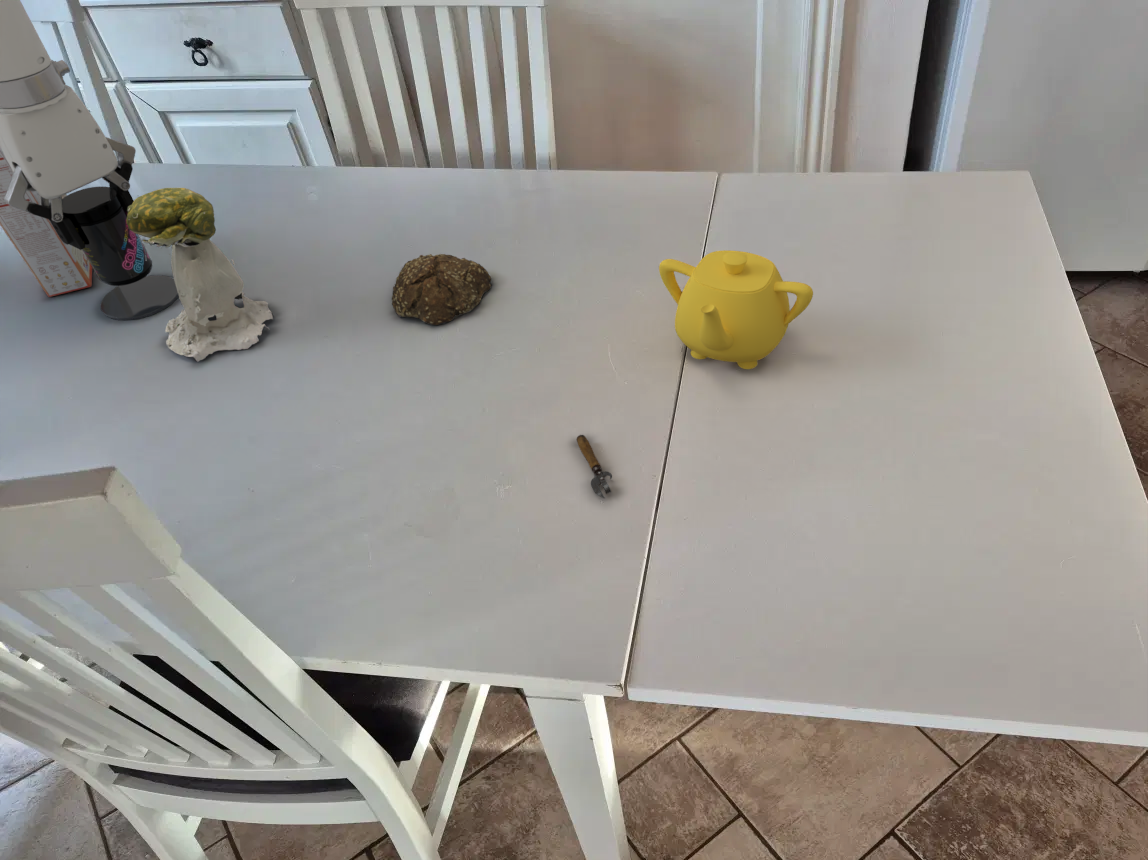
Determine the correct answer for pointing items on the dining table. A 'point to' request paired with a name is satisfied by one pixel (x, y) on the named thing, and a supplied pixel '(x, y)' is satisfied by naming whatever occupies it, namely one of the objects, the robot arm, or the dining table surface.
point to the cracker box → (42, 244)
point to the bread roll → (439, 288)
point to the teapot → (733, 305)
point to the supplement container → (107, 235)
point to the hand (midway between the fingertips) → (104, 231)
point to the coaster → (140, 298)
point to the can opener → (594, 466)
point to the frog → (198, 274)
